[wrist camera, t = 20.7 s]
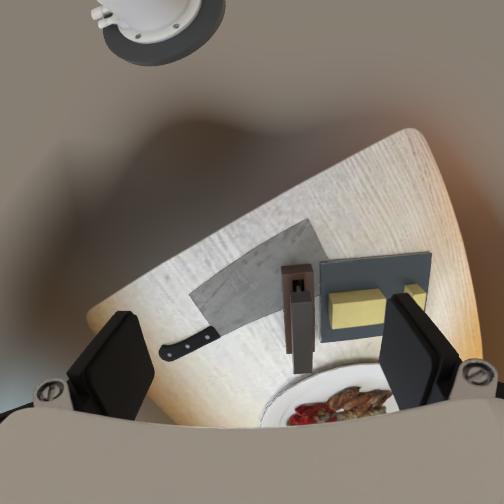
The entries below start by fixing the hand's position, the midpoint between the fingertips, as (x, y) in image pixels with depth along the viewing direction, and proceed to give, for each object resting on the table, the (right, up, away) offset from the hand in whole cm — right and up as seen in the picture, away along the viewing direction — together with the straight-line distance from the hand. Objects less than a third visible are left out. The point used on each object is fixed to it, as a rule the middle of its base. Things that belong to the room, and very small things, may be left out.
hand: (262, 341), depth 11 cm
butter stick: (+13, -4, +28) cm, 31 cm away
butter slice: (+22, -3, +27) cm, 35 cm away
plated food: (+16, -27, +36) cm, 48 cm away
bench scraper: (+6, -4, +29) cm, 30 cm away
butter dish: (+17, -3, +28) cm, 33 cm away
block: (+6, -4, +29) cm, 30 cm away
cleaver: (-4, -4, +30) cm, 31 cm away
